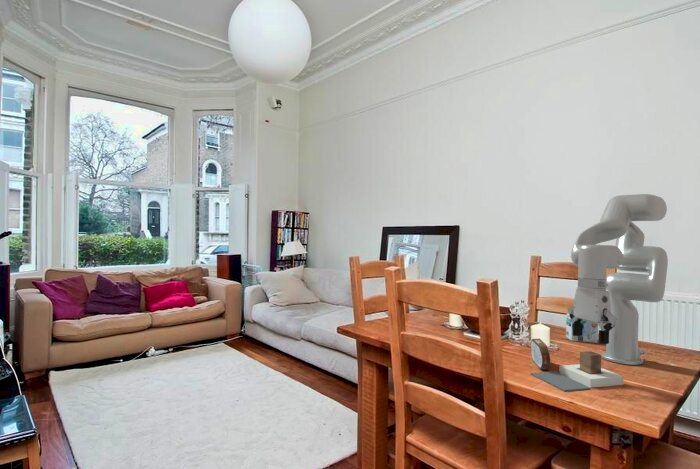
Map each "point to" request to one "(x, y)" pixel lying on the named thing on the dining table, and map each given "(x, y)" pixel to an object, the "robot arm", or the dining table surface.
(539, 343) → the tin
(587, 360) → the block
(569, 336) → the light bulb box
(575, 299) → the robot arm
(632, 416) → the dining table surface
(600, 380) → the holder
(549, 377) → the mat
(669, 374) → the dining table surface
